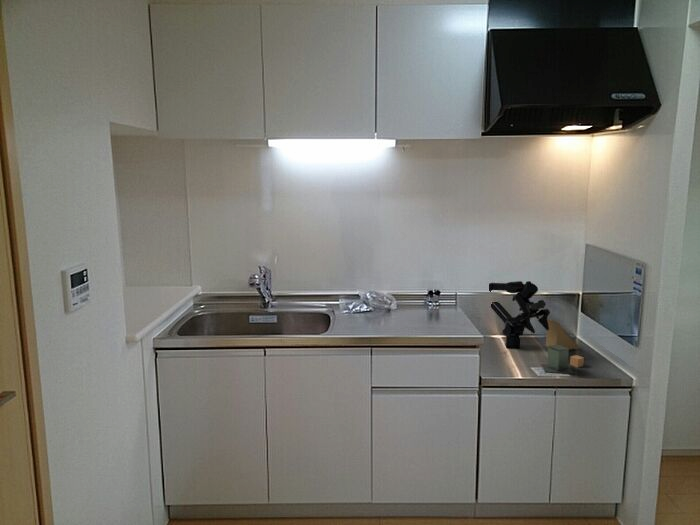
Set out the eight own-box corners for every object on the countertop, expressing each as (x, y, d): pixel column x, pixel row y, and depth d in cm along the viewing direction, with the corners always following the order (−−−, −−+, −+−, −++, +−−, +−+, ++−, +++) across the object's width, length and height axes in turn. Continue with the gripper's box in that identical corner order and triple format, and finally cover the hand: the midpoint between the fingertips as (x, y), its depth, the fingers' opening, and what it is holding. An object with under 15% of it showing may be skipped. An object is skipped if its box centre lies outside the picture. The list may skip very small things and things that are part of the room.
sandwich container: (582, 348, 249) (584, 319, 247) (556, 351, 245) (558, 322, 243) (570, 343, 257) (572, 315, 255) (545, 346, 253) (546, 317, 251)
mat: (545, 372, 219) (545, 371, 219) (541, 364, 228) (541, 363, 228) (573, 374, 217) (573, 373, 217) (568, 366, 225) (568, 365, 225)
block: (569, 364, 228) (570, 356, 227) (575, 363, 230) (576, 354, 229) (577, 367, 224) (578, 359, 224) (583, 365, 226) (583, 357, 226)
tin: (547, 367, 223) (548, 346, 222) (556, 365, 226) (557, 344, 224) (557, 371, 218) (559, 350, 216) (567, 369, 221) (568, 348, 219)
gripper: (520, 297, 231) (537, 325, 223) (548, 292, 239) (565, 320, 231) (507, 309, 239) (523, 337, 231) (534, 304, 247) (551, 331, 240)
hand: (541, 331), depth 233 cm, fingers open, 9 cm apart
